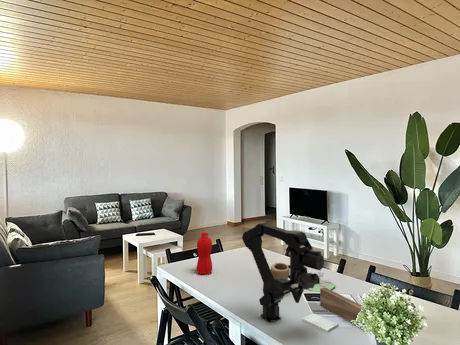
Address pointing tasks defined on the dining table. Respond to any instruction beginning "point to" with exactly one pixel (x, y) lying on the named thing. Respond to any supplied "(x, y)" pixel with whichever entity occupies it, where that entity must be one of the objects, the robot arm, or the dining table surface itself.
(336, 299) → the walnut board
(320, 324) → the hard drive
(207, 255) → the water bottle
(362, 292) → the dining table surface
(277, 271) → the stone cup
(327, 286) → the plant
